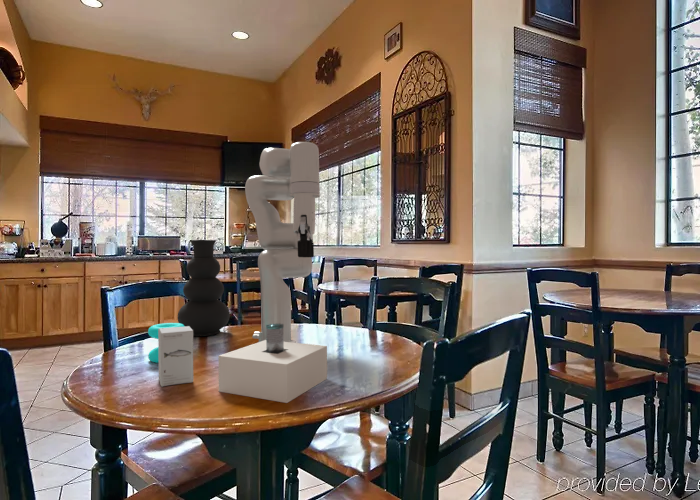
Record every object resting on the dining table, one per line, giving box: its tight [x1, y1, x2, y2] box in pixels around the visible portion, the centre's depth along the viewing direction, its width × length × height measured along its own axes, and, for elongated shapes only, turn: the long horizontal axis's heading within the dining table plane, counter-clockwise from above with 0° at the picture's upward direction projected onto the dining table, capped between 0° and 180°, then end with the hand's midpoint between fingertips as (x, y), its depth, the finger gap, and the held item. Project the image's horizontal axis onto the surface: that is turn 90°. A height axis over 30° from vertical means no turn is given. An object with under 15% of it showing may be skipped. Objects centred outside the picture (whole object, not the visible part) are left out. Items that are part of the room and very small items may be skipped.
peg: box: [266, 324, 284, 354], centre depth 102 cm, size 4×4×8 cm
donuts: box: [147, 322, 185, 364], centre depth 125 cm, size 10×10×10 cm
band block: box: [217, 340, 328, 404], centre depth 102 cm, size 18×18×8 cm
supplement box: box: [157, 326, 194, 387], centre depth 105 cm, size 7×7×13 cm
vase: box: [177, 239, 231, 337], centre depth 161 cm, size 18×18×35 cm
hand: (306, 257), depth 112 cm, fingers open, 9 cm apart
